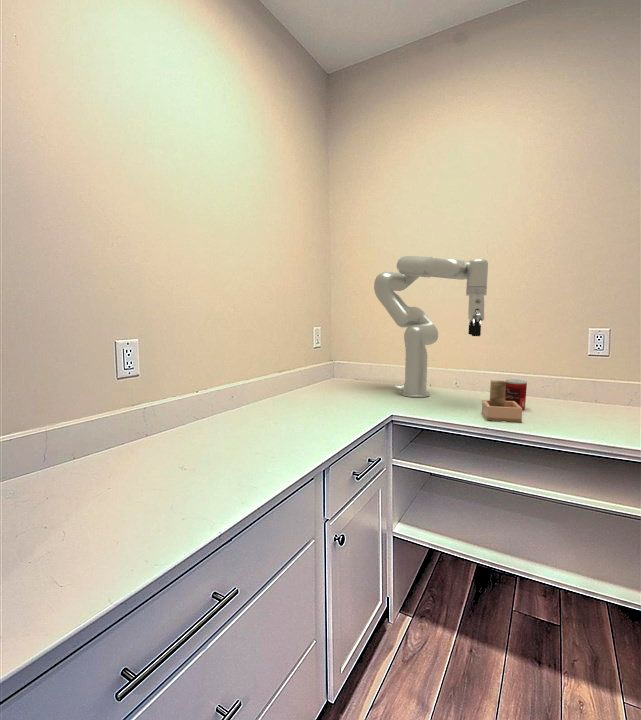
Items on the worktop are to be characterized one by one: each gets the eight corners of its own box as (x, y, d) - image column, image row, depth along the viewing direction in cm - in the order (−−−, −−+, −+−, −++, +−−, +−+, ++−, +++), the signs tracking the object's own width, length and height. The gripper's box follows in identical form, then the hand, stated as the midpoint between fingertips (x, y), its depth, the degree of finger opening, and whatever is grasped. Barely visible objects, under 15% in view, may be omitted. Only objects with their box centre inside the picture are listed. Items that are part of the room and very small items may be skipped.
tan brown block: (490, 414, 151) (492, 381, 150) (489, 412, 154) (490, 380, 153) (503, 415, 150) (505, 382, 149) (502, 413, 153) (504, 380, 152)
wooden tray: (486, 420, 148) (487, 406, 147) (481, 412, 159) (482, 399, 158) (521, 422, 145) (522, 408, 145) (514, 414, 157) (514, 401, 156)
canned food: (520, 406, 170) (522, 379, 168) (528, 411, 162) (530, 382, 160) (500, 405, 170) (502, 378, 169) (507, 410, 162) (509, 382, 161)
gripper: (490, 290, 156) (487, 337, 159) (483, 292, 173) (480, 334, 175) (469, 290, 158) (466, 336, 160) (463, 292, 175) (462, 333, 177)
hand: (474, 335), depth 168 cm, fingers open, 9 cm apart
